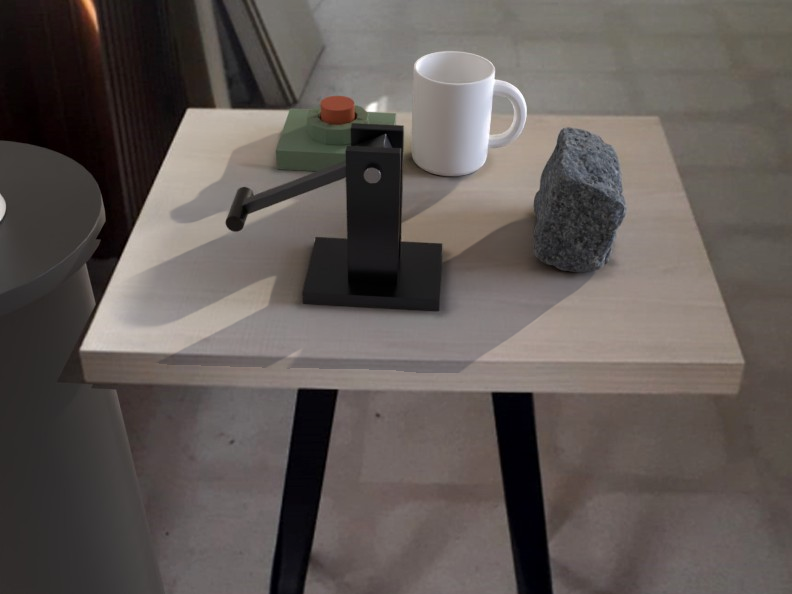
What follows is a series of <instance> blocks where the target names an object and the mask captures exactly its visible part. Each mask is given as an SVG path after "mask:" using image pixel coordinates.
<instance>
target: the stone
mask: <svg viewBox="0 0 792 594" xmlns="http://www.w3.org/2000/svg"><path fill="white" fill-rule="evenodd" d="M623 192H624V189H623V181H622V170H621V163H620V161H619V158H618V154H617V150H616V149H615V148H614V147H613V145H612V144H609V143H606V142H605V141H604V140H603V139H602V137H601V136H600V135H598V134H595V133H593V132H590V131H588V130H586V129H582V128H576V127H570V126H567V127H563V128H561V129H560V131H559V133H558V134H557V139H556V145H555V147H554V149H553V150H552V153H551V155H550V156H549V159H547V161H546V163H545V165H544V167H543V169H542V172H541V174H540V179H539V189H538V190H537V192H535V196H534V198H533V213H534V215H535V216H536V222H535V227H534V229H533V235H532V245H533V247H532V248H533V249H532V251H533V252H532V253H533V254H534V256H535V258H537V259H538V260H540V262H542V263H544V264H545V265H549V266H554V267H555V268H556V269H558V270H561V271H567V272H573V273H591V272H595V271H599V270H601V269H602V268H603V267H604V266H605V265H607V264H608V262H609V261H610V258H611V255H612V252H613V249H614V248H613V247H614V244H615V243H616V239H617V231H618V229H619V227H620V226H621V225H622V223H623V221H624V219H625V217H626V212H627V210H628V208H627V207H628V206H627V203H626V200H625V199H626V198H625V196H624V194H623Z"/></svg>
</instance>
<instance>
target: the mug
mask: <svg viewBox="0 0 792 594" xmlns="http://www.w3.org/2000/svg"><path fill="white" fill-rule="evenodd" d="M412 75H413V76H412V102H411V103H412V105H411V106H412V107H411V137H410V139H411V141H410V150H411V157H412V160H413V161H414V163H415V164H416V165H417V166H418V167H419V168H420V169H421V170H423V171H425V172H427V173H429V174H432V175H437V176H441V177H461V176H465V175H470V174H472V173H475V172H477V171H478V170H479V169H480V168H482V167H483V166H484V165H485V163H486V161H487V158H488V151H489V149H491V150H492V149H500V148H504V147H506V146H508V145H510V144H511V143H513V142H515V141H516V140H517V139H518V138H519V136H520V135H521V133H522V132H523V130H524V127H525V125H526V120H527V114H528V111H527V110H528V109H527V103H526V99H525V97H524V96H523V94H522V92H521V91H520V90H519V89H518V88H517V87H516V86H515V85H513V84H511V83H510V82H507V81H505V80H501V79H495V76H496V68H495V65H494V64H493V62H491V61H490V60H489V59H487V58H486V57H484V56H481V55H478V54H475V53H471V52H467V51H459V50H458V51H457V50H443V51H436V52H431V53H428V54H425V55H422V56H420V57H419V58H418V59H416V60H415V62H414V64H413V74H412ZM494 96H496V97H502V98H505V99H508V101H510V103H511V106H512V107H513V120H512V123H511V125H510V126H509V127H508V128H507V130H505V131H504V132H502V133H497V134H491V133H490V131H491V122H492V121H491V119H492V110H493V109H492V108H493V100H494V99H493V97H494Z"/></svg>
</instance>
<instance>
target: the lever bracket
mask: <svg viewBox="0 0 792 594" xmlns="http://www.w3.org/2000/svg"><path fill="white" fill-rule="evenodd" d="M350 130H351V146H346V151H345V159H346V178H345V200H346V201H345V203H346V205H345V206H346V207H345V209H346V238H343V237H326V236H325V237H323V236H315V237H314V241H313V246H312V251H311V254H310V258H309V262H308V266H307V271H306V274H305V279H304V283H303V287H302V292H301V298H302V299H301V300H302V304H305V305H320V306H321V305H324V306H340V307H341V306H342V307H359V308H360V307H361V308H378V309H395V310H397V309H398V310H415V311H433V312H434V311H435V312H439V311H440V304H441V288H442V287H441V286H442V269H443V253H444V252H443V250H444V244H443V243H442V242H441V243H440V242H421V241H404V240H403V241H402V235H403V234H402V233H403V231H402V230H403V190H404V189H403V186H404V152H405V151H404V149H405V148H404V147H405V125H401V124H396V125H382V124H361V123H352V124H351V128H350ZM384 134H386V135H387V138H388V140H389V142H390V144H391V146H392V148H386V147H365V146H355V145H358V144H360V143H363V142H365V141H368V140H371V139H373V138H376V137H378V136H381V135H384Z"/></svg>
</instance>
